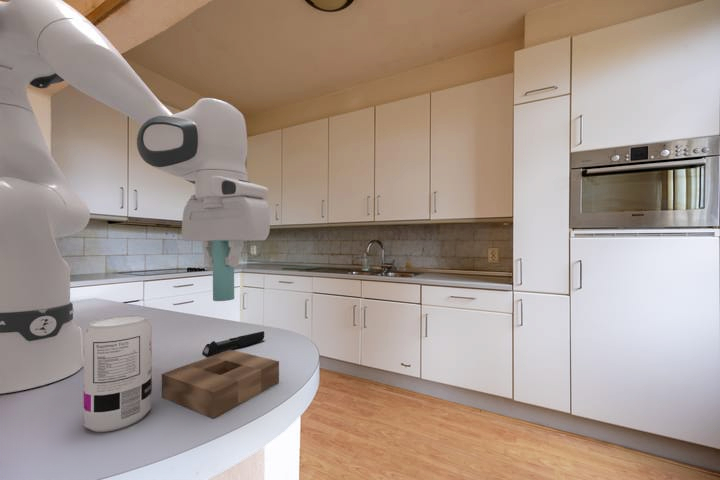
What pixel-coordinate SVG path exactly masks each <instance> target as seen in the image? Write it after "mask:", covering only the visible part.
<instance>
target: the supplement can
mask: <svg viewBox="0 0 720 480" xmlns="http://www.w3.org/2000/svg"><path fill="white" fill-rule="evenodd" d="M152 327H153V325H152V324H151V323H150V321H149V319H148V316H146V315H142V314H130V315H119V316H118V315H117V316H112V317H106V318H102V319H96V320H94V321H92V322H90V323H89V326H88V328H87V329H86V331H85V332H84V334H83V356H84V366H83V425H84V427H85V428H86V429H89V430H90V431H91V432H92V431H93V432H95V433H105V432H111V431H116V430H119V429H123V428H126V427H129V426H131V425H133V424H135V423H137V422H139V420H141V419H142V420H143V418H144V417H145V416H146V415H147V414H148V413H149V411H150V410H151V409H152V404H153V403H152V399H153V397H152V395H153V394H152V393H153V391H152V390H153V389H152V388H153V386H152V385H153V384H152V383H153V381H152V378H153V377H152V375H153V374H152V372H153V371H152V370H153V369H152V368H153V367H152V365H153V363H152V362H153V360H152V358H153V356H152V355H153V354H152V351H153V349H152V348H153V347H152V346H153V345H152V344H153V343H152V342H153V341H152V340H153V331H152Z"/></svg>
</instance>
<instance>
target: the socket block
mask: <svg viewBox="0 0 720 480" xmlns="http://www.w3.org/2000/svg"><path fill="white" fill-rule="evenodd" d="M279 383H280V360H275V359H272V358H266V357H262V356H259V355H256V354H255V355H253V354H250V353H247V352H241V351H238V350H233V349H230V350H227V351H223V352H220V353H216V354H213V356H211V357H209V356H208V357H204V358H203V359H200V360H197V361H194V362H192V363H189V364H186V365H183V366H180V367H177V368H174V369H172V370H168V371H165V372H164V373H161V398H164V399H165V400H168V401H170V402H173V403H174V404H175V403H176V404H177V405H180V406H182V407H184V408H188V409H189V410H192V411H195V412H197V413H199V414H202V415H204V416H206V417H209V418H211V419H215V418H217V417H219V416H221V415H224V413H227V412H228V411H230V410H231V409H234V408H235V407H237V406H239V405H240V404H243V403H244V402H246V401H248V400H250V399H251V398H254V397H255V396H257V395H259V394H260V393H262V392H264V391H266V390H267V389H270V388H271V387H274V385H277V384H279Z"/></svg>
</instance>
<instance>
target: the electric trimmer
mask: <svg viewBox="0 0 720 480" xmlns="http://www.w3.org/2000/svg"><path fill="white" fill-rule="evenodd" d="M264 339H265V331H259V332H253V333H249V334H244V335H240V336H237V337H236V336H235V337H232V338H231V337H230V338H229V339H225V340H222V341H217V342H216V341H215V340H212V341H211V342H209V343H207V344H206V345H205V346H204V347H203V349H202V353H201V354H202V356H204V357H205V358H208V357H211V356H213V355H216V354H219V353H222V352H225V351H227V350H233V349H237V348H239V349H240V348H241V349H242V348H244V347H247V346H250V345H252V344H253V345H254V344H256V343H259V342H262V341H263V340H264Z"/></svg>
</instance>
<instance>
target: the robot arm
mask: <svg viewBox="0 0 720 480" xmlns="http://www.w3.org/2000/svg"><path fill="white" fill-rule="evenodd" d="M64 81H65V82H66V83H68V84H70V85H71V86H72V87H73V88H75V89H76V90H78V91H80V92H81V93H83V94H84V95H87V96H89V97H90V98H92V99H94V100H96V101H98V102H101V104H104V105H106V106H107V107H110V108H112V109H113V110H116V111H117V112H119V113H121V114H123V115H125V116H127V117H129V119H132V120H133V121H135V122H136V123H138V124H139V125H140V126H141V127H140V128H139V129H138V133H137V135H136V136H137V137H136V148H137V152H138V154H139V156H140V157H141V158H142V160H143V161H144V162H145V163H146V164H147V165H150V166H152V167H153V168H155V169H157V170H159V171H162V172H165V173H168V174H169V175H172V176H175V177H178V178H181V179H183V180H186V181H187V182H189V183H191V184H193V185H194V187H195V191H194V192H195V193H194V194H193V195H191V196H190V198H189V200H187V201H186V205H185V206H184V208H183V212H182V213H183V214H182V221H181V236H182V240H183V241H184V242H202V248H203V250H204V253H205V255H206V259H207V260H206V261H207V263H206V265H208V266H209V267H213V240H218V241H229V247H231V249H230V252H229V255H228V257H225V261H226V262H225V265H226V266H227V267H234V268H235V267H238V266H239V265H240V256H241V254H242V251H243V249H244V245H245V244H244V242H246V241H265V240H267V238H268V236H269V234H270V229H271V226H270V225H271V224H270V222H271V220H270V207H269V205H268V201H266V199H268V198H269V189H268V187H266V186H263V185H259V184H256V183H253V182H251V181H248V180H249V179H248V177H249V175H248V174H249V173H248V171H247V167H246V162H247V161H246V160H247V157H248V139H247V138H248V134H247V133H248V132H247V125H246V120H245V117H244V115H243V113H242V112H241V111H240V110H239V109H238V108H237V107H235V106H234V105H233V104H232V103H229V102H227V101H225V100H221V99H219V98H214V97H203V98H199V100H197V101H196V102H195V104H194V105H192V106H191V107H189V108H188V109H185V110H182V111H179V112H177V113H173V112H172V111H171V110H170V109H169V108H168V107H166V105H164V103H163V102H162V101H160V100H159V99H158V98H157V96H156V95H155V94H154V93H153V92H152V90H151V89H150V88H149V87H148V85H146V83H145V82H144V81H143V80H142V78H141V77H140V76H139V75H138V74H137V72H136V71H135V70H134V69H133V68H132V66H131V65H130V64H129V63H128V61H126V59H125V58H124V57H123V56H122V55H121V53H120V52H119V50H118V49H117V48H116V46H114V45H113V44H112V43H111V41H110V39H108V38H107V37H106V35H104V34H103V33H102V32H101V30H99V29H98V28H97V27H96V26H95V25H94V24H93V23H92V21H90V20H89V19H87V17H85V16H84V15H83V14H81V13H80V12H79V11H78V10H77V9H75V8H74V7H73V6H71V5H70V4H68V3H67V2H65V1H64V0H8V1H2V0H0V394H7V393H14V392H20V391H24V390H25V391H26V390H28V389H33V388H37V387H38V388H39V387H41V386H45V385H48V384H51V383H54V382H58V381H60V380H62V379H65V378H67V377H70V376H72V375H74V374H75V373H77V372H79V370H81V368H84V342H83V332H82V331H83V330H82V328H81V327H80V326H78V325H76V324H75V323H73V321H72V320H73V319H74V313H75V310H74V309H75V308H74V306H73V305H74V304H73V302H71V267H70V265H69V263H68V261H66V260H64V257H62V255H61V253H60V251H59V248H58V245H57V242H56V241H57V240H56V239H60V238H65V237H69V236H72V235H74V234H78V233H80V232H81V231H83V230H84V229H85V228H86V227H87V225H88V224H89V223H90V219H91V212H90V209H89V206H88V205H87V204H86V203H85V202H84V201H83V200H82V198H80V197H79V196H78V194H77V193H76V192H75V190H74V189H73V187H72V186H71V185H70V182H69V181H68V180H67V178H66V177H65V175H64V174H63V172H62V170H61V169H60V167H59V165H58V164H57V162H56V161H55V159H54V158H53V156H52V154H51V152H50V150H49V147H48V145H47V143H46V140H45V138H44V136H43V135H44V134H43V133H42V130H41V128H40V126H39V123H38V120H37V118H36V115H35V113H34V110H33V108H32V105H31V103H30V100H29V97H28V91H27V90H28V87H29V86H32V87H34V88H37V89H47V88H49V87H50V86H51V85H52V84H54V85H55V84H58V83H62V82H64Z"/></svg>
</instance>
